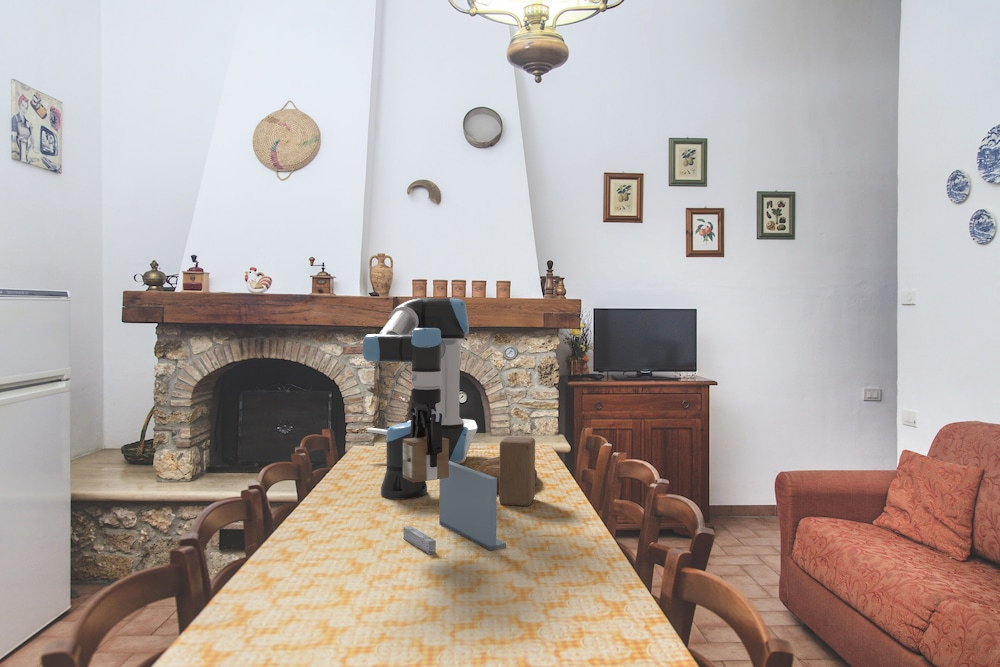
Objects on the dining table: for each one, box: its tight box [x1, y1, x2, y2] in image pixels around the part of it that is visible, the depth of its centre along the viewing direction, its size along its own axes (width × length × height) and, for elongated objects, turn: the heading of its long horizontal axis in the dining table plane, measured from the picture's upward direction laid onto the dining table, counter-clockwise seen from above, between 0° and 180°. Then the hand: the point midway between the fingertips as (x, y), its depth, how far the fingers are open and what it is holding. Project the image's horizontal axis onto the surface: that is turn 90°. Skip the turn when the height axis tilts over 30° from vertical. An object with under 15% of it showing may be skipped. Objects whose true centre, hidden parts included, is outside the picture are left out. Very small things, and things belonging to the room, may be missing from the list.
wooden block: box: [498, 436, 536, 507], centre depth 212 cm, size 10×10×20 cm
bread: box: [476, 456, 538, 495], centre depth 238 cm, size 22×37×8 cm, turn 0°
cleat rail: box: [403, 525, 437, 555], centre depth 170 cm, size 14×2×3 cm, turn 34°
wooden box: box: [403, 437, 449, 483], centre depth 172 cm, size 6×11×10 cm, turn 122°
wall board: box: [438, 461, 507, 551], centre depth 179 cm, size 26×5×18 cm, turn 34°
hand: (425, 476), depth 172 cm, fingers closed on wooden box, 6 cm apart
